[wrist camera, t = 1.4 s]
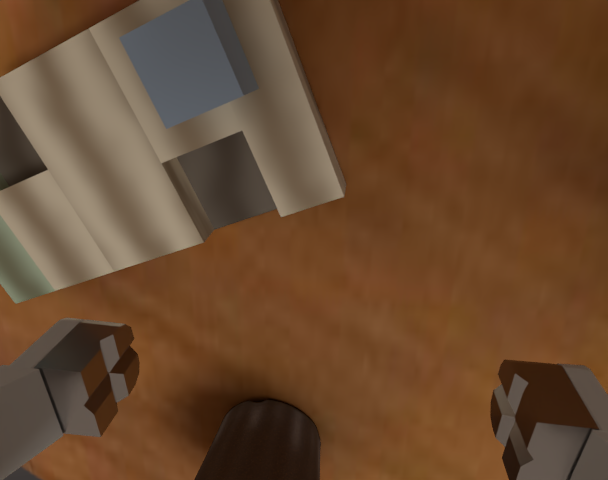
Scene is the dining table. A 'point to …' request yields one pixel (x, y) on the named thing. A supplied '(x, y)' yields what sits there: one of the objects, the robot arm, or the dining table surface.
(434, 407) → the dining table surface
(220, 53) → the slate block
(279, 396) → the dining table surface
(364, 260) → the dining table surface
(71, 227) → the wooden cutout board
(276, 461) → the plant pot
